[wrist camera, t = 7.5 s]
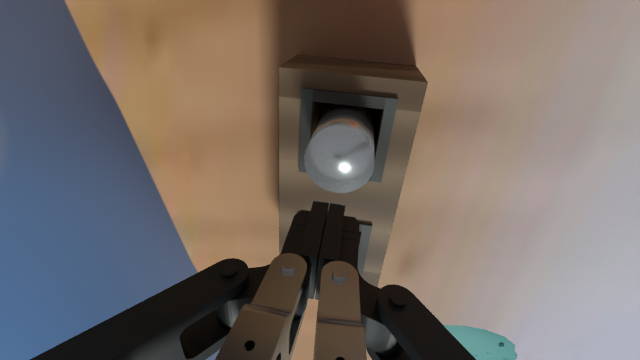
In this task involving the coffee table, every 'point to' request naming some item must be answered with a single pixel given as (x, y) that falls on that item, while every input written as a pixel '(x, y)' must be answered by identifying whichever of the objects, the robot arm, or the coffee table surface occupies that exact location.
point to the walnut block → (389, 142)
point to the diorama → (483, 343)
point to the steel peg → (341, 149)
